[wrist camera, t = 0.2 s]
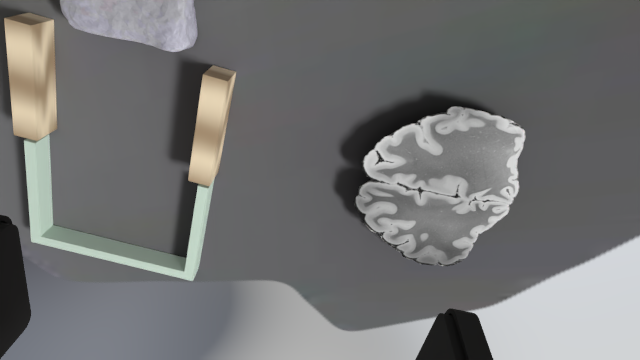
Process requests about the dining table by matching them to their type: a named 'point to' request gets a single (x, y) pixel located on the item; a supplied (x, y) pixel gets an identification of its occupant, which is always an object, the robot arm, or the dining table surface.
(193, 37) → the stone block
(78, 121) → the dining table surface
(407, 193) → the brain slice
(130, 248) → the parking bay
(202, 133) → the blocks
